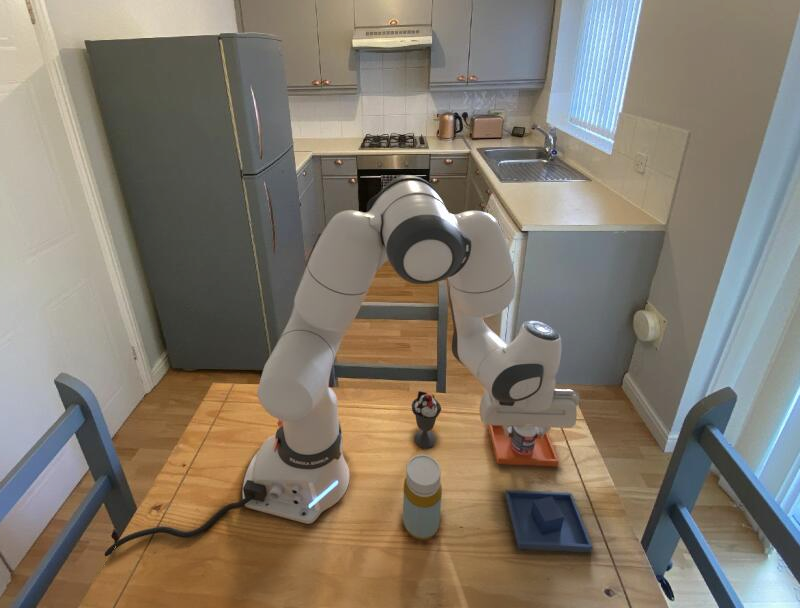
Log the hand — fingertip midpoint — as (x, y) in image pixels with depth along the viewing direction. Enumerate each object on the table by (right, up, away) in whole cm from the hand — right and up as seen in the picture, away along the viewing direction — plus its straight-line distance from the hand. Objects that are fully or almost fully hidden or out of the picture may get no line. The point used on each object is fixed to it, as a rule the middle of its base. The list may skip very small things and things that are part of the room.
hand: (523, 436), depth 95 cm
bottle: (-25, -10, -14) cm, 30 cm away
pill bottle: (0, -3, +1) cm, 3 cm away
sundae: (-22, -3, +4) cm, 22 cm away
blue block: (-1, -9, -14) cm, 17 cm away
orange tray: (0, -3, +1) cm, 4 cm away
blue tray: (-1, -10, -14) cm, 17 cm away
